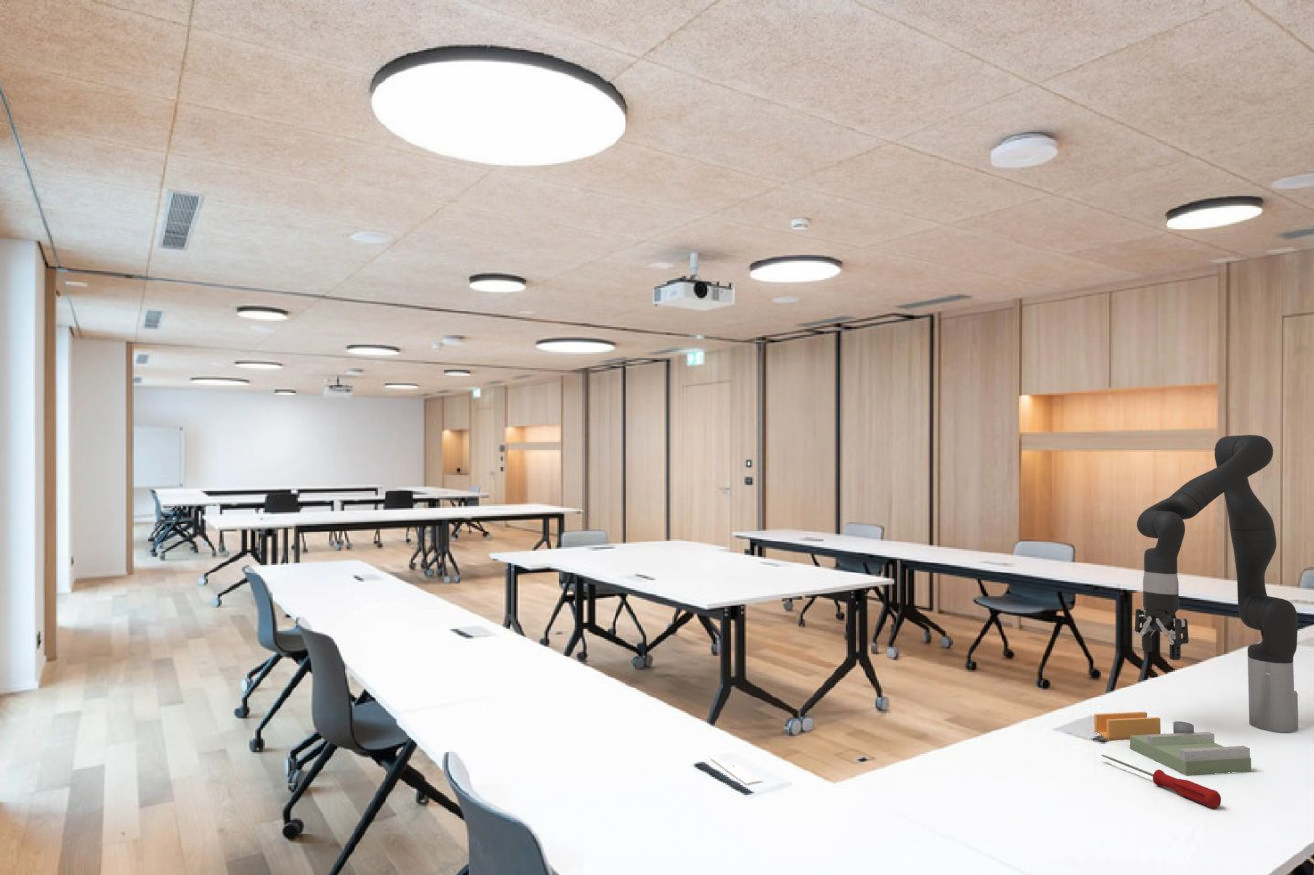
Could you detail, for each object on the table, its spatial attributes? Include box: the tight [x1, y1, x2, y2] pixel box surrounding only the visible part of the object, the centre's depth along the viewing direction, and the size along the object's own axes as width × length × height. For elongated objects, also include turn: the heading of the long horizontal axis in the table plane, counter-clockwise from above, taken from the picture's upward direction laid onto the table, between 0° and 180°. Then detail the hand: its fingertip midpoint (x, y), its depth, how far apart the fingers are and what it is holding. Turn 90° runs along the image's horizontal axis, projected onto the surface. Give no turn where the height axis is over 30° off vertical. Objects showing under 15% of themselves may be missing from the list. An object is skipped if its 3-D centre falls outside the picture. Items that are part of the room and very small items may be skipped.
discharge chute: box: [1093, 711, 1162, 742], centre depth 189 cm, size 14×5×5 cm, turn 98°
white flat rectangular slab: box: [710, 756, 765, 786], centre depth 166 cm, size 5×15×1 cm, turn 25°
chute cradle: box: [1147, 731, 1251, 761], centre depth 171 cm, size 16×10×2 cm, turn 98°
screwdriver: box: [1100, 754, 1222, 809], centre depth 160 cm, size 4×25×4 cm, turn 21°
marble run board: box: [1129, 720, 1252, 777], centre depth 174 cm, size 16×16×6 cm
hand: (1160, 655), depth 192 cm, fingers open, 8 cm apart
